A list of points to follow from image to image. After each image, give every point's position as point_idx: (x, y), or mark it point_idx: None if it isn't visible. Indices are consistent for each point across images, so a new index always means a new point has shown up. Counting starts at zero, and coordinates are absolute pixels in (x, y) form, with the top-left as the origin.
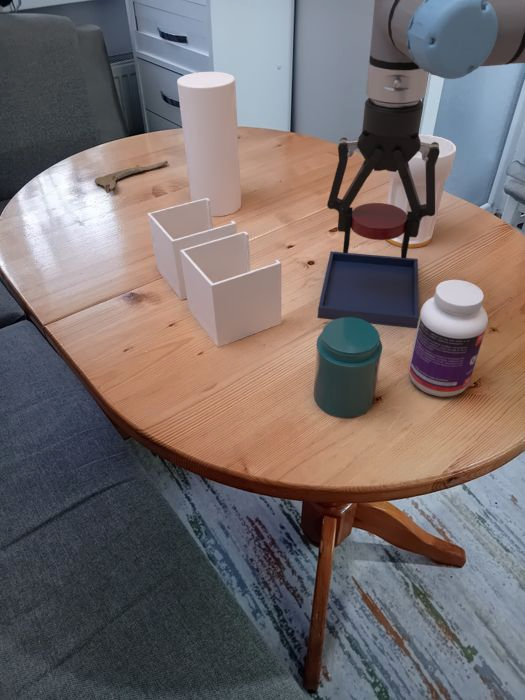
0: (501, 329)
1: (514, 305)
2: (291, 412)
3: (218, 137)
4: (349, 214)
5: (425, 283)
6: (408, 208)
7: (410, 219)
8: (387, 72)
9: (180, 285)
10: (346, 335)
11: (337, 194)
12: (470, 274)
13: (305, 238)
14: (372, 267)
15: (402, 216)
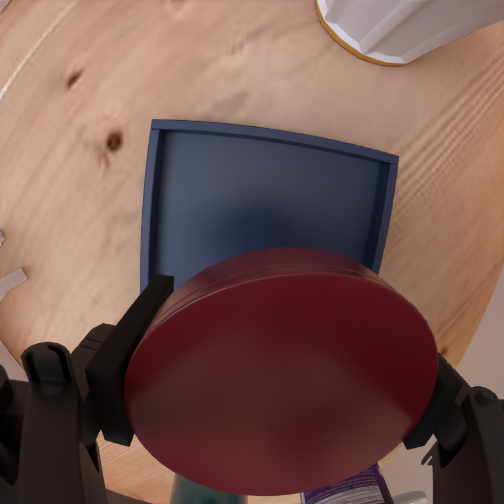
0: (452, 348)
1: (491, 286)
2: (160, 477)
3: None
4: (118, 438)
5: (394, 223)
6: (415, 13)
7: (419, 444)
8: None
9: None
10: None
11: (16, 495)
12: (472, 189)
13: (110, 34)
14: (276, 161)
15: (406, 414)
